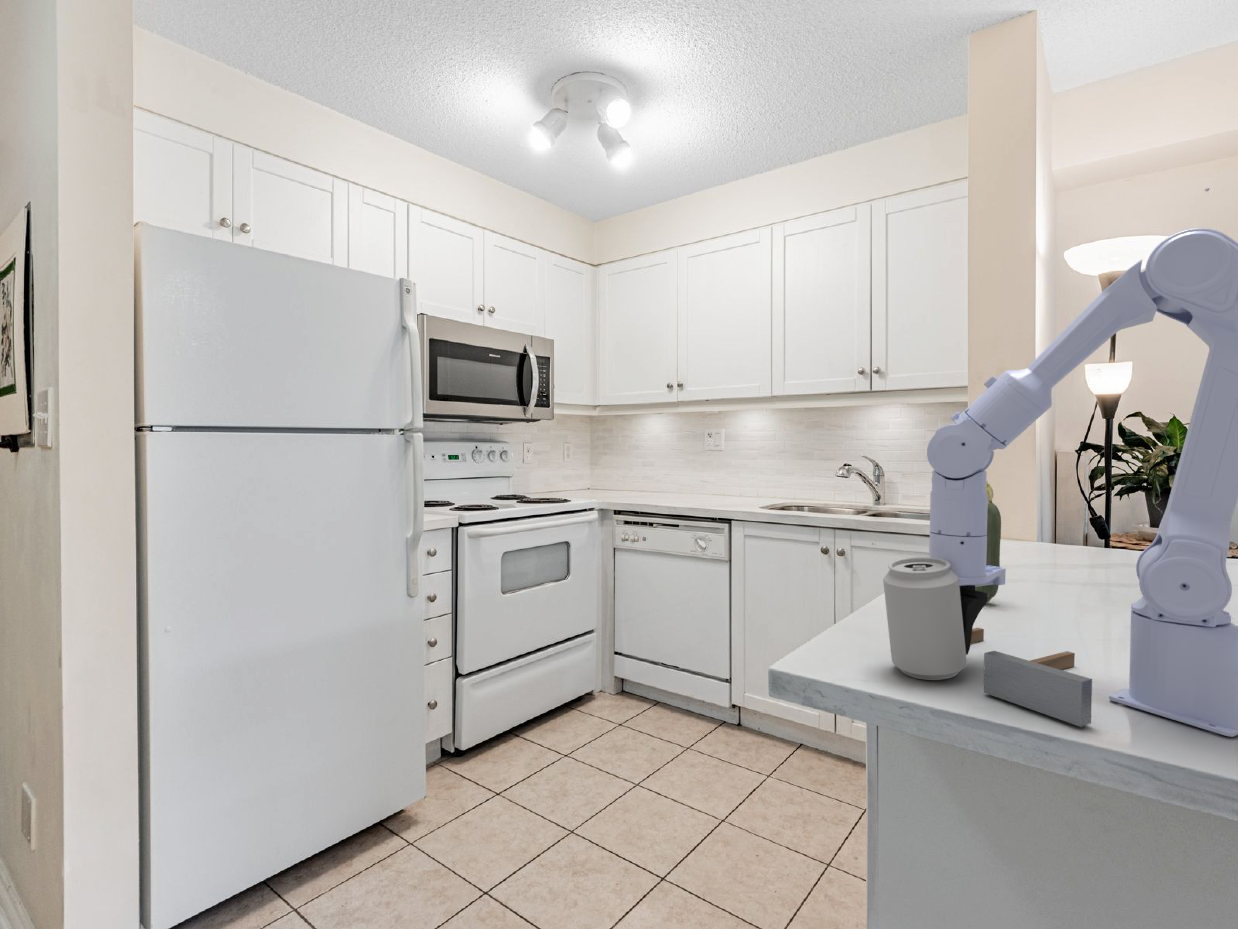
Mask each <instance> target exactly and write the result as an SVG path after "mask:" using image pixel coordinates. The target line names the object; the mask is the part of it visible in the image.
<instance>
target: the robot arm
mask: <svg viewBox="0 0 1238 929" xmlns="http://www.w3.org/2000/svg"><path fill="white" fill-rule="evenodd" d="M1142 263H1143V259H1140V260H1139V261H1137V262H1136V263H1134V264H1133V265H1132V266H1130V267H1129V268H1127V270H1126V271H1124V272H1123V273H1122V274H1121V275H1120V276H1119V277H1117V279H1115V280H1114V281H1113V282H1111V284H1110V285H1108V286H1107V287H1106V288H1105V289H1104V290H1103V291H1102V292H1100V293H1099V295H1098V296H1097V297H1096V298H1095V299H1094V300H1093V301H1092V302H1091V303H1090V304H1088V306H1086V308H1085V309H1084V310H1083V311H1082V312H1081V313H1080V314H1079V315H1078V316H1077V317H1076V318H1075V319H1073V321H1072V322H1071V323H1070V324H1069V325H1068V326H1067V327H1066V328H1065V329H1064V330H1063V331H1062V332H1061V333H1060V334H1058V336H1057V337H1055V339H1054V340H1053V341H1052V342H1051V343H1050V344H1049V345H1048V346H1047V347H1046V348H1045V349H1044V350H1043V351H1042V352H1041V353H1040V354H1039V355H1038V356H1037V357H1036V358H1035V360H1033V361H1032V362H1031V364H1030V365H1028V366H1027V367H1026V368H1024V369H1011V370H1005V371H1004V372H1002V374H1001V375H1000V376H999V377H996V376H994V375H991V376H990V377H989V378H987V380H986V381H985V382H984V383H983V385H984V387H986V388H987V389H985V390H984V391H983V392H982V393H981V394H980V395H979V396H978V397H977V398H976V399H974V401H972V403H971V404H970V405H969V406H968V407H967V408H965V410H963V411H962V412H960V411H956V412H955V413H954V414H952V416H950V420H952V421H953V422H954V423H952V424H947V425H944V426H942V427H940V428H937V429H936V431H935V433H934V435H933V436H932V437H931V439H930V440H929V443H928V445H927V449H926V455H927V456H926V457H927V460H928V462H929V465H930V466H931V468H932V469H933V470H932V475H931V491H930V493H929V494H930V496H929V497H930V501H929V502H930V504H929V505H930V506H929V507H930V509H929V545H928V550H929V551H928V553H929V554H928V557H933V558H940V559H944V560H946V561H948V562H949V563H950V564H951V566H950V569H951V570H952V571H953V572H954V573H955V574H956V575H957V576H958V577H959V587H960V598H961V608H962V618H963V629H964V639H965V649H966V656H967V655H969V652H970V649H971V645H972V643H971V636H972V629H973V628H974V624H975V622H976V620H977V618H978V616H979V615H980V613H981V610H982V609H983V608H984V607H985V605H986V604H988V602H987V601H988V594H987V593H984V592H980V591H975V587H978V586H985V585H991V584H996V585H999V586H1005V585H1006V570H1007V569H1006V568H1005V567H1001V566H1000V567H996V566H990V565H988V566H986V556H987V511H988V494H987V492H986V481H987V475H988V473H987V469H988V468H989V467H990V466H991V465H992V462H993V459H994V456H995V452H994V451H995V450H1004V449H1006V448H1007V447H1008V446H1009V445H1010V444H1011V443H1013V441H1014V440H1015V439H1017V438H1018V437H1020V435H1021V434H1022V433H1023V432H1024V431H1026V430H1027V429H1028V428H1029V427H1030V426H1031V425H1033V423H1035V422H1036V421H1037V420H1038V419H1039V418H1040V417H1042V415H1044V414H1045V413H1046V412H1047V411H1049V409H1051V407H1052V404H1053V403H1052V402H1053V401H1052V400H1053V398H1052V389H1053V388H1054V387H1055V386H1057V384H1058V383H1059V382H1061V381H1062V380H1063V379H1064V378H1065V377H1066V376H1068V375H1069V374H1070V373H1071V372H1072V371H1074V370H1075V369H1076V368H1077V367H1078V366H1079V365H1081V364H1082V363H1083V362H1084V361H1085V360H1087V359H1088V358H1089V356H1091V355H1092V354H1093V353H1095V352H1096V351H1097V350H1098V349H1099V348H1100V347H1101V346H1103V345H1104V344H1105V343H1106V342H1107V341H1109V339H1111V338H1112V337H1113V336H1114V335H1115V334H1116V333H1118V332H1120V331H1121V330H1125V329H1128V328H1132V327H1136V326H1140V325H1144V324H1149V323H1151V322H1153V320H1154V318H1155V315H1156V313H1159V314H1161V315H1163V316H1165V317H1168V318H1169V319H1172V320H1175V321H1177V322H1180V323H1182V324H1184V325H1186V327H1187V328H1188V329H1189V330H1191V331H1192V332H1193V333H1194V335H1196V336H1197V337H1198V338H1199V339H1200V340H1201V341H1202V342H1203V343H1204V344H1206V346H1207V347H1208V354H1207V358H1206V361H1205V365H1204V367H1203V368H1204V369H1203V373H1202V375H1201V376H1202V377H1201V380H1200V383H1199V387H1198V390H1197V394H1196V398H1195V401H1194V406H1193V409H1192V412H1191V416H1190V419H1189V420H1190V421H1189V423H1188V428H1187V432H1186V435H1185V439H1184V443H1183V446H1182V450H1181V454H1180V457H1179V461H1178V464H1177V468H1176V471H1175V475H1174V479H1173V483H1172V485H1171V490H1170V494H1169V498H1168V501H1167V505H1166V508H1165V510H1164V513H1163V516H1162V518H1161V520H1160V523H1159V526H1158V530H1157V533H1156V536H1155V538H1154V539H1153V541H1152V542H1151V544H1149V545H1148V546H1147V547H1146V548H1144V549H1143V551H1142V552H1141V553H1140V554H1139V557H1138V558H1137V562H1136V567H1135V568H1136V569H1135V571H1136V576H1137V578H1138V581H1139V582H1138V583H1139V584H1138V585H1139V590H1140V592H1141V595H1142V597H1141V598H1140V599H1138V600H1137V601H1134V602H1132V603H1131V604H1130V605H1131V606H1130V640H1129V641H1130V642H1129V679H1128V680H1129V681H1128V684H1129V685H1128V688H1127V689H1123V690H1120V691H1117V692H1114V693H1110V694H1109V695H1108V699H1109V700H1110V701H1112V702H1115V703H1119V704H1121V705H1125V706H1129V707H1131V708H1133V709H1134V708H1135V709H1137V710H1140V711H1144V712H1147V713H1151V714H1154V715H1157V716H1161V717H1164V718H1167V719H1170V720H1174V721H1177V722H1179V723H1183V724H1186V725H1190V726H1193V727H1196V728H1199V729H1203V730H1205V731H1208V732H1209V731H1210V732H1211V733H1212V732H1213V733H1214V734H1218V735H1222V736H1226V737H1231V738H1233V737H1235V736H1238V625H1236V624H1234V623H1233V622H1232V615H1230V613H1229V612H1228V611H1227V610H1224V609H1225V608H1227V606H1228V604H1229V603H1230V601H1231V597H1232V594H1233V593H1232V592H1233V587H1232V581H1231V578H1230V576H1229V573H1228V571H1227V570H1228V569H1227V557H1228V554H1229V550H1230V543H1231V542H1230V541H1231V539H1230V538H1231V522H1232V518H1233V516H1234V512H1235V510H1236V509H1235V508H1236V507H1237V502H1238V241H1236V240H1235V239H1233V238H1232V237H1230V236H1228V235H1227V234H1225V233H1224V232H1222V231H1220V230H1217V229H1212V228H1206V227H1205V228H1204V227H1199V228H1189V229H1185V230H1182V231H1179V232H1176V233H1173V234H1172V235H1170V236H1168V237H1167V238H1165V239H1164V240H1162V241H1161V242H1160V243H1159V244H1157V245H1156V247H1155V248H1154V249H1153V250H1152V251H1151V253H1150V254H1149V256H1148V258H1147V261H1146V264H1145V269H1144V270H1143V271H1142ZM932 566H933V565H932ZM932 566H931V567H932Z"/></svg>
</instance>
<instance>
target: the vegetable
mask: <svg viewBox="0 0 1238 929" xmlns="http://www.w3.org/2000/svg"><path fill="white" fill-rule="evenodd" d="M986 492H987V494H988V511H987V556H986V566H988V565H990V566H996V567H1001V565H1000V557H1001V551H1000V550H1001V535H1002V533H1001V532H1002V516H1001V512H1000V510H999V508H998V506H997V505H996V504H995V503H993V499H994V490H993V488H992V486H991V484H990V483H988V480H986ZM999 586H1000V585H996V584H991V585H985V586H978V587H975V591H980V592H984V593H987V594H988V601H987V603H989V602H990V601H991V600H992V599H993V598H994V597H996V596H997V593H998V590H999Z"/></svg>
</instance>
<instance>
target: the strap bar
mask: <svg viewBox="0 0 1238 929" xmlns="http://www.w3.org/2000/svg"><path fill="white" fill-rule="evenodd" d="M983 655H984V658H983V693H984V694H987V695H989V696H993V697H995V698H998V699H1001V700H1004V701H1006V702H1010V703H1012V704H1016V705H1018V706H1020V707H1024V708H1027V709H1029V710H1031V711H1035V712H1038V713H1040V714H1043V715H1046V716H1048V717H1052V718H1055V719H1058V720H1060V721H1064V722H1066V723H1069V724H1072V725H1074V726H1078V727H1080V728H1082V727H1084V726H1087V725H1090V724H1092V705H1093V704H1092V699H1093V679H1092V678H1090V677H1087V676H1083V675H1079V674H1076V673H1073V672H1069V671H1066V670H1064V669H1062V670H1059V669H1056V668H1052V667H1049V666H1046V665H1042V664H1039V663H1035V662H1032V661H1030V660H1028V659H1024V658H1020V657H1018V656H1014V655H1011V654H1007V653H1004V652H1000V651H997V650H991V651H987V652H984V653H983Z"/></svg>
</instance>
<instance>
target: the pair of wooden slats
mask: <svg viewBox="0 0 1238 929" xmlns="http://www.w3.org/2000/svg"><path fill="white" fill-rule="evenodd" d="M984 637H985V630H984V628H981V627H973V628H972V636H971V644H976V643H979V641H980V642H984V641H983V640H985V639H984ZM1075 657H1076V656H1075V652H1072V651H1068V650H1067V651H1062V652H1058V653H1054V654H1050V655H1046V656H1043V657H1038V658H1034V659H1030V660H1029V661H1032V662H1035V663H1039V664H1042V665H1046V666H1049V667H1052V668H1056V669H1059V670H1066V669H1070V668H1073V667H1075Z"/></svg>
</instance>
